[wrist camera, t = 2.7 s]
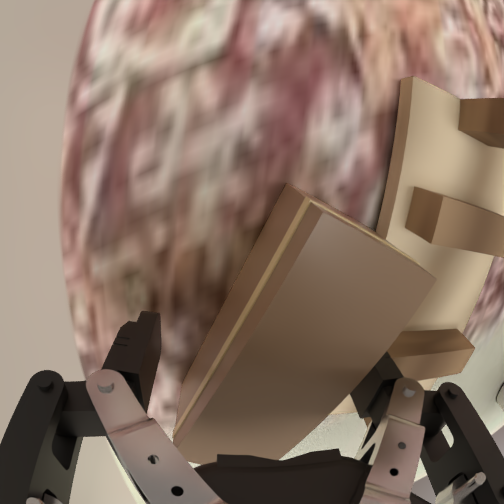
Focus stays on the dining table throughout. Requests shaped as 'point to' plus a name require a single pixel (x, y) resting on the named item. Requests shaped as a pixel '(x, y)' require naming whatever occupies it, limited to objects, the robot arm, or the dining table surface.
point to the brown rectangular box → (295, 331)
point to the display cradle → (443, 220)
